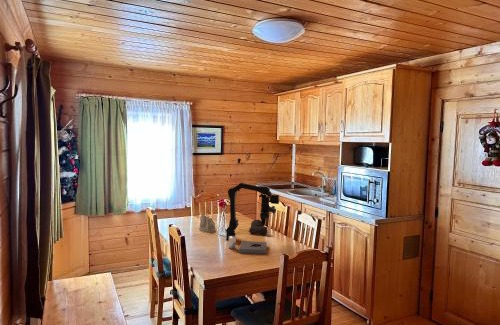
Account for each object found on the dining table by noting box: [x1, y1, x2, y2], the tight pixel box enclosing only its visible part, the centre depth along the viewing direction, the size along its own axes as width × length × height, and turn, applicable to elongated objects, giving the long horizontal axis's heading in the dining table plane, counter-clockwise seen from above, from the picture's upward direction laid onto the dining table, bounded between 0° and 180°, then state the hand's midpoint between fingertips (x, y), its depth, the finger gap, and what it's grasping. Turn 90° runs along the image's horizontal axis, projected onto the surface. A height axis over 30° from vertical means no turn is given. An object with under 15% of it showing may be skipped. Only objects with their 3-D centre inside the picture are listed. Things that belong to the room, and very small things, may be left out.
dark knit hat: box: [248, 219, 268, 236], centre depth 285 cm, size 10×15×15 cm
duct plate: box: [238, 240, 268, 255], centre depth 243 cm, size 18×18×3 cm
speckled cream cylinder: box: [228, 235, 237, 250], centre depth 245 cm, size 5×5×8 cm
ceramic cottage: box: [198, 212, 217, 233], centre depth 292 cm, size 16×16×15 cm
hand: (264, 223), depth 260 cm, fingers open, 9 cm apart
